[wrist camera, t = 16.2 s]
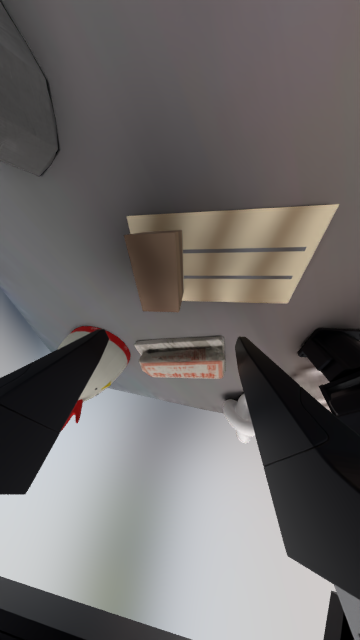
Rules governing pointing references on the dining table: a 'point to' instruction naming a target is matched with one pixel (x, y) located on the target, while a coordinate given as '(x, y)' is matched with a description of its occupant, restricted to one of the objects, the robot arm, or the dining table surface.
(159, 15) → the dining table surface
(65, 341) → the kitchen timer
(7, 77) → the coffeepot
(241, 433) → the white knot sculpture
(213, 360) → the packaged product
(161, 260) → the block
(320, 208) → the board
